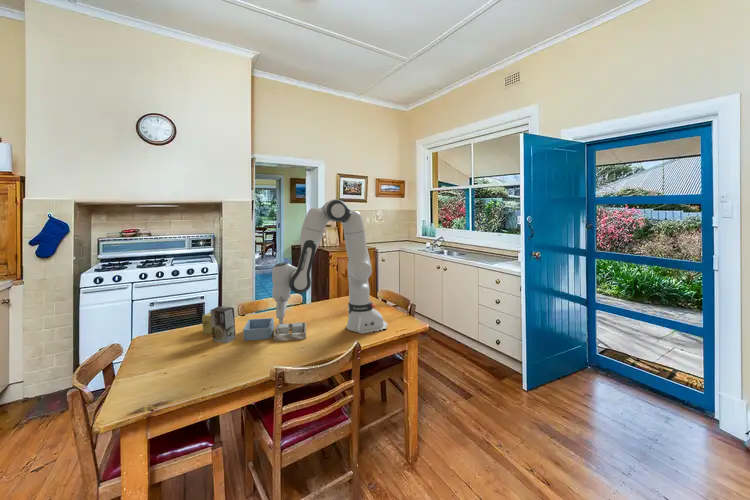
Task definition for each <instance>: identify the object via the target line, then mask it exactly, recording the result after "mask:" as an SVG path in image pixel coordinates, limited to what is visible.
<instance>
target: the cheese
mask: <svg viewBox="0 0 750 500" xmlns="http://www.w3.org/2000/svg"><path fill="white" fill-rule="evenodd" d="M201 317H202V318H201V319H202V320H201V321H202V332H203V334H206V335H213V334H212V323H211V312H210V311H209V312H208V313H205V314H203V315H202V316H201Z"/></svg>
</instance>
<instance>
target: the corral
mask: <svg viewBox="0 0 750 500" xmlns="http://www.w3.org/2000/svg"><path fill="white" fill-rule="evenodd" d="M292 323H293V322H292ZM292 323H288V324H289V330H292ZM302 324H303V333H289V334H278V326H279V323H278V324H276V326H275V327H274V328H275V329H274V331H273V342H281V341H293V340H304V339H307V322H302Z"/></svg>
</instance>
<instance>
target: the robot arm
mask: <svg viewBox="0 0 750 500" xmlns="http://www.w3.org/2000/svg"><path fill="white" fill-rule="evenodd" d="M331 221H332V222H338V223H341V225H342V228H343V230H342V231H343V235H344V236H343V237H344V244H345V250H346V254H347V258H348V261H347V278H348V294H349V295H348V299H349V301H348V305H347V309H348V318H347V324H346V329H347V330H348V331H352V332H356V333H359V334H367V333H374V332H373V331H375V332H380V331H379V330H381V331H384V330H383V329H386V328H387V326H388V324H387V322H386V321H385V320H384V318H383V315H382V313H380V311H378V310H377V309H375V308H376V305H375V303H373V302H372V301H371V300H370V283H369V278H370V277H371V276H372V273H373V272H372V271H373V270H372V269H373V268H372V263H371V258H370V257H371V256H370V254H369V250H368V245H367V238H366V230H365V225H364V221H363V218H362V214H361V213H360V212H359V211H357V210H353V209H352V210H351V209H350V208H349V206H348V205H347V204H346V203H345V202H344V200H341V199H337V198H333V199H330V200H329V201H327V202H326V203H325V204H323V206H322V207H320V208H319V207H312V208H310V209H309V210H308V211H307V213H306V215H305V218H304V221H303V223H302V227H301V231H300V238H299V241H300V249H301V251H300V257H299V260H298V264H297V267H296V266H294V265H292V264H290V263H289V262H286V261H284V262H280V263H276V264H275V265H274V266H273V267H272V272H271V273H272V274H271V275H272V276H271V282H272V299H273V300H275V302H276V304H275V305H276V306H275V307H276V308H275V309H276V312H275V315H276V317H275V318H277V319H278V324H284V318H285V317H286V316H285V315H286V310H287V306H288V301H289V299H291V291H292V292H293V293H295V294H304V293H306V292H308V291H309V289H310V288H311V286H312V282H311V269H312V265H313V262H314V258H315V256H316V255H315V254H316V251H317V250H318V248H319V245H320V243H321V241H322V239H323V236H324V232H325V228H326V226H327V224H328V223H329V222H331ZM385 326H386V327H385ZM387 329H388V328H387ZM387 329H386V330H387Z"/></svg>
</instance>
